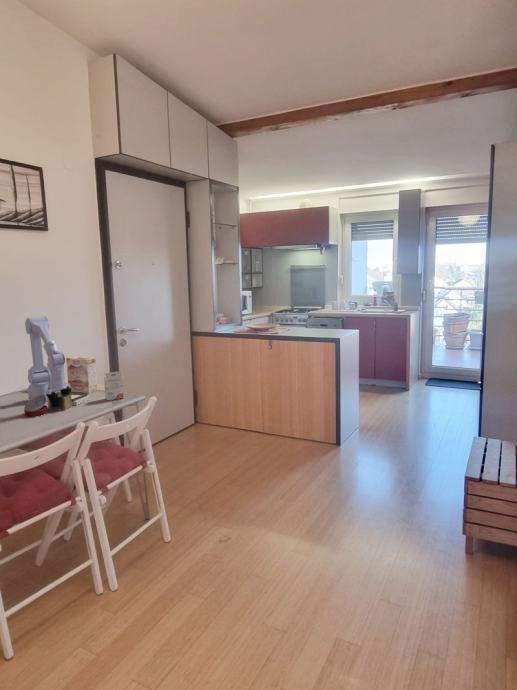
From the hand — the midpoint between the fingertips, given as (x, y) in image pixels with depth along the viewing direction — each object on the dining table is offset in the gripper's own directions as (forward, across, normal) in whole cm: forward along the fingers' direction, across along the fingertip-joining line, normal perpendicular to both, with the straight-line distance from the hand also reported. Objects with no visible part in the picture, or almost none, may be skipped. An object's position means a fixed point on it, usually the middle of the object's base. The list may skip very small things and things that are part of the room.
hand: (59, 405), depth 222 cm
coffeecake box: (+2, +32, +11) cm, 34 cm away
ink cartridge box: (+2, +22, -16) cm, 27 cm away
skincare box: (+2, +36, +32) cm, 48 cm away
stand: (+2, +12, +2) cm, 12 cm away
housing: (+2, 0, 0) cm, 2 cm away
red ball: (+2, -11, +4) cm, 12 cm away
